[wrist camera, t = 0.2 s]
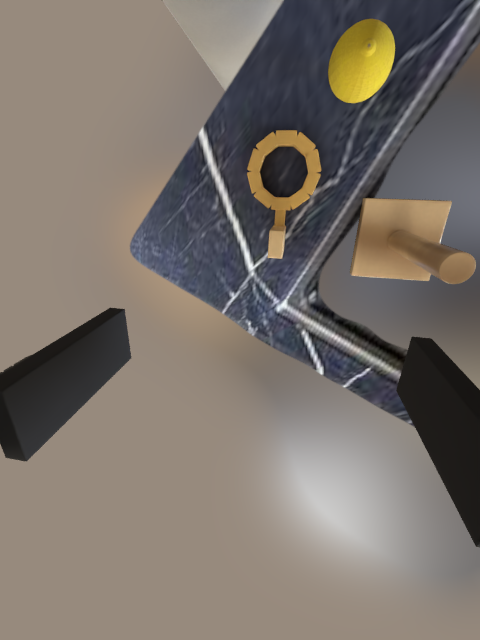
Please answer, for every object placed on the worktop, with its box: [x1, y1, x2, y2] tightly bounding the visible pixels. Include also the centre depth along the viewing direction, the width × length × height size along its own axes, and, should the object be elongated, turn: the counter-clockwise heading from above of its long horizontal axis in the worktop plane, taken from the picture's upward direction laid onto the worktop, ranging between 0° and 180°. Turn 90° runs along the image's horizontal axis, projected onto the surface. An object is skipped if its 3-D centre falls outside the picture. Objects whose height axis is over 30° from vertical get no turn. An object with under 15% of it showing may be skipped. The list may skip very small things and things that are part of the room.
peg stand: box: [350, 198, 476, 284], centre depth 29 cm, size 9×9×16 cm
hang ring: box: [247, 130, 321, 258], centre depth 33 cm, size 13×8×6 cm, turn 179°
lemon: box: [328, 19, 395, 103], centre depth 27 cm, size 6×6×8 cm
